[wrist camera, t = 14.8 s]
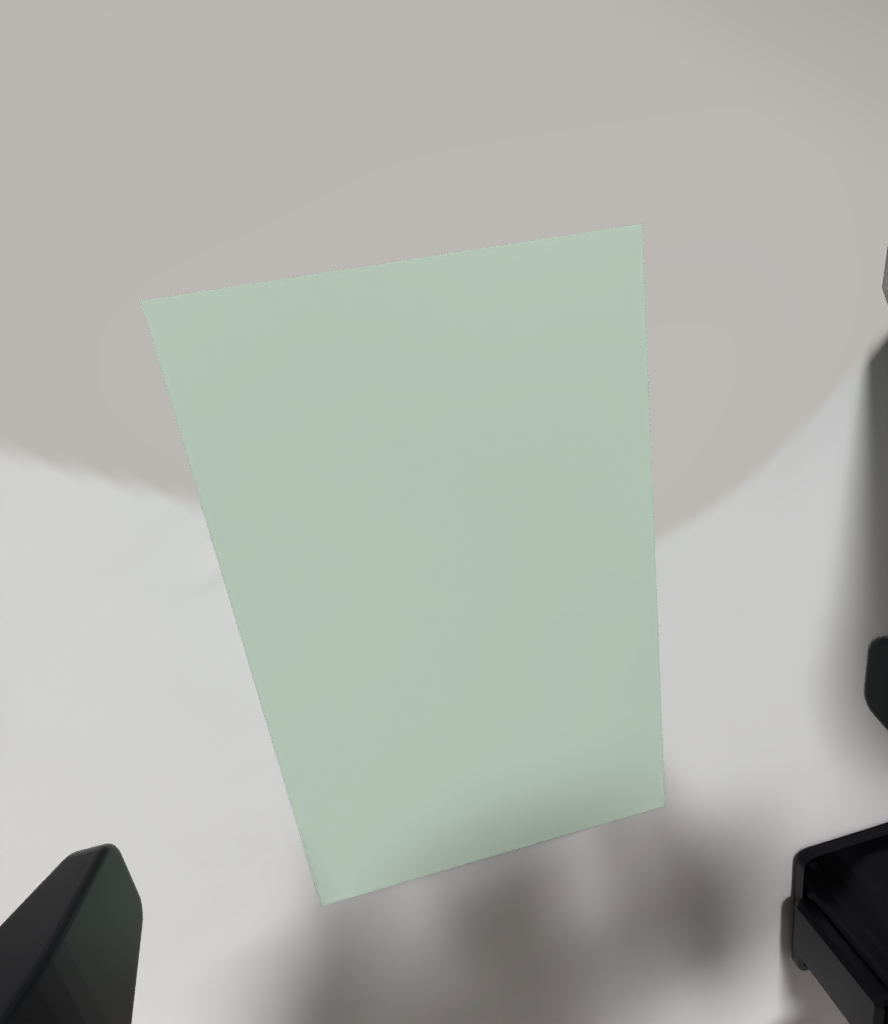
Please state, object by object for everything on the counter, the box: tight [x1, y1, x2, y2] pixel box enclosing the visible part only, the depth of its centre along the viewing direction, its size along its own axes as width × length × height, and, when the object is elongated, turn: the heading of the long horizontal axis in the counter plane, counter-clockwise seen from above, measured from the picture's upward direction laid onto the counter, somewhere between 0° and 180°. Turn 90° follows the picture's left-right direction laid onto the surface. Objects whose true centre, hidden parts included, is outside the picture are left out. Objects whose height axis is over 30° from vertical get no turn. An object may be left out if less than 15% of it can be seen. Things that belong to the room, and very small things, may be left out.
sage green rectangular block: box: [140, 224, 665, 906], centre depth 15 cm, size 8×12×6 cm, turn 9°
